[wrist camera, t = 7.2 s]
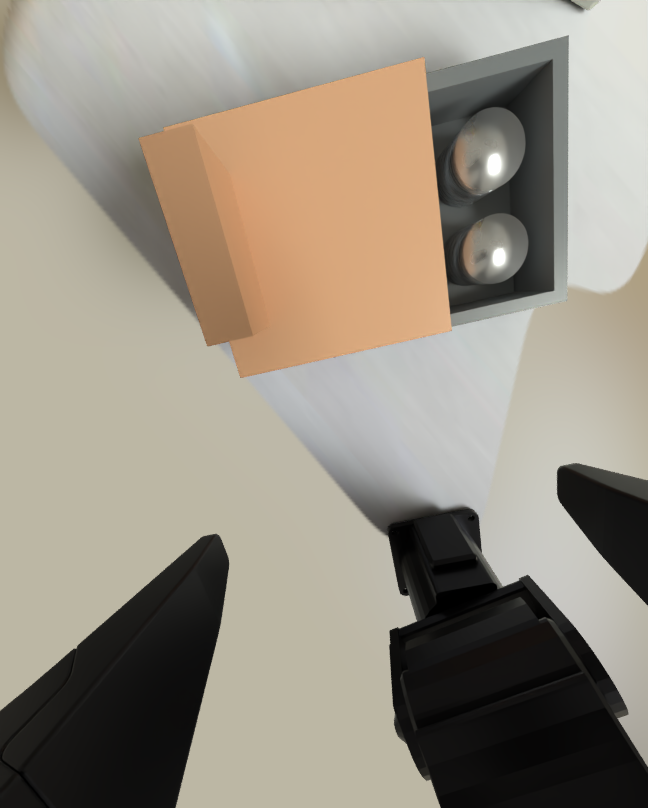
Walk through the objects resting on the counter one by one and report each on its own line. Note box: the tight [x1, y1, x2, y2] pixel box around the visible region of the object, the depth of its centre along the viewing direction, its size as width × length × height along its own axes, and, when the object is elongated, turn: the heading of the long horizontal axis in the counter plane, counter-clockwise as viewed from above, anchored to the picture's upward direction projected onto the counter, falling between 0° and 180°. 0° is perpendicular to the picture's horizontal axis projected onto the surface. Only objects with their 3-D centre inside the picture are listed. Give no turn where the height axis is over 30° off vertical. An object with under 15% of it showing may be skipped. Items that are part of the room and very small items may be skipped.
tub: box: [426, 35, 569, 327], centre depth 16 cm, size 10×10×4 cm
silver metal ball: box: [435, 107, 526, 208], centre depth 16 cm, size 3×3×3 cm
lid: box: [139, 57, 452, 378], centre depth 12 cm, size 10×10×5 cm
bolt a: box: [444, 213, 528, 286], centre depth 17 cm, size 3×3×3 cm
